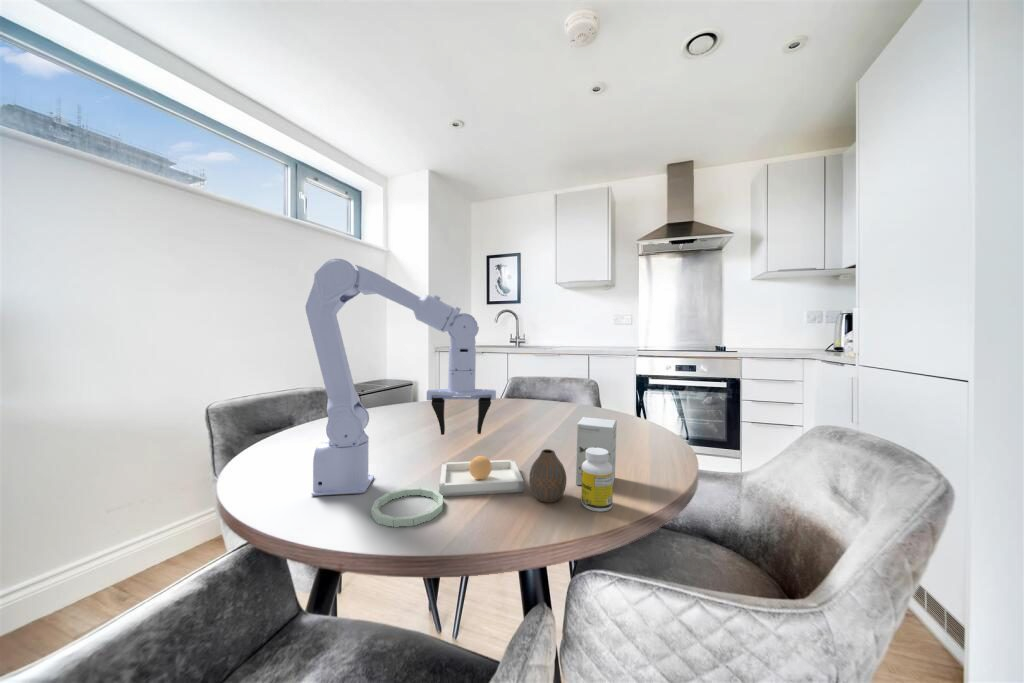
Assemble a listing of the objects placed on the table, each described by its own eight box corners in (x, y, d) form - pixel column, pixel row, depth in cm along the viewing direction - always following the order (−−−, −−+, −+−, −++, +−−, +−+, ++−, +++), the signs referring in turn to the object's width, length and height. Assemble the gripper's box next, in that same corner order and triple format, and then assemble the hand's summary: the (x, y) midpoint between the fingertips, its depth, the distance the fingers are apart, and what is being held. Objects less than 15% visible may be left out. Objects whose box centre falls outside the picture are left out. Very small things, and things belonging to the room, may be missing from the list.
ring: (364, 529, 54) (364, 521, 54) (380, 495, 66) (380, 489, 66) (441, 524, 56) (441, 516, 56) (444, 492, 67) (444, 486, 67)
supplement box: (574, 485, 71) (575, 423, 71) (581, 472, 78) (582, 415, 78) (612, 491, 68) (613, 427, 68) (616, 477, 75) (617, 419, 75)
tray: (439, 496, 65) (439, 485, 65) (442, 472, 77) (442, 462, 77) (523, 491, 68) (523, 481, 68) (513, 468, 80) (513, 459, 80)
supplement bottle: (577, 498, 65) (578, 446, 65) (606, 497, 66) (606, 445, 66) (586, 513, 60) (586, 456, 60) (617, 512, 60) (617, 455, 60)
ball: (469, 483, 70) (469, 460, 70) (468, 474, 74) (469, 453, 74) (492, 482, 71) (492, 459, 71) (490, 473, 75) (490, 452, 75)
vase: (565, 490, 69) (565, 446, 69) (567, 507, 62) (567, 458, 62) (529, 489, 69) (530, 444, 69) (528, 505, 62) (528, 456, 62)
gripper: (425, 371, 70) (424, 439, 70) (497, 371, 72) (496, 437, 72) (428, 368, 77) (427, 430, 77) (494, 368, 79) (493, 428, 79)
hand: (461, 433), depth 75 cm, fingers open, 7 cm apart
